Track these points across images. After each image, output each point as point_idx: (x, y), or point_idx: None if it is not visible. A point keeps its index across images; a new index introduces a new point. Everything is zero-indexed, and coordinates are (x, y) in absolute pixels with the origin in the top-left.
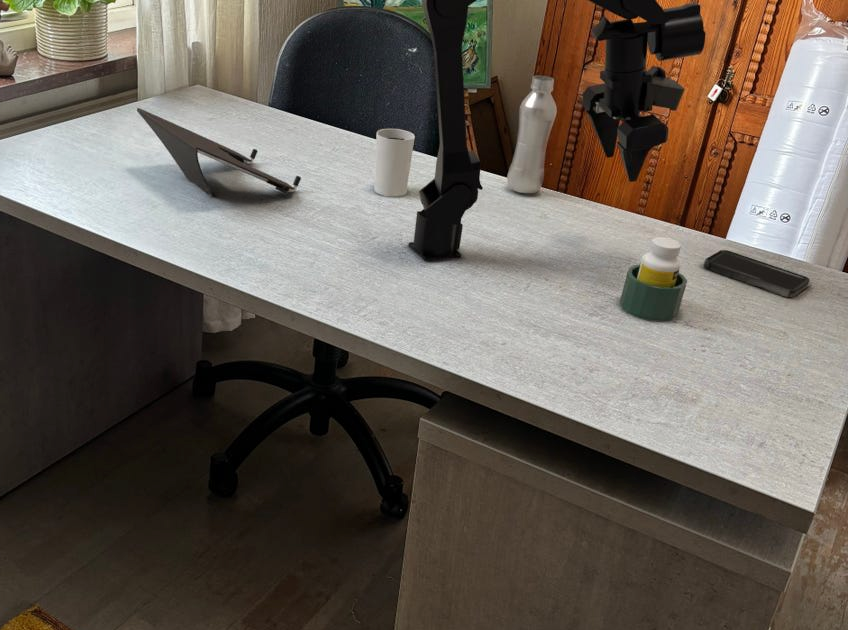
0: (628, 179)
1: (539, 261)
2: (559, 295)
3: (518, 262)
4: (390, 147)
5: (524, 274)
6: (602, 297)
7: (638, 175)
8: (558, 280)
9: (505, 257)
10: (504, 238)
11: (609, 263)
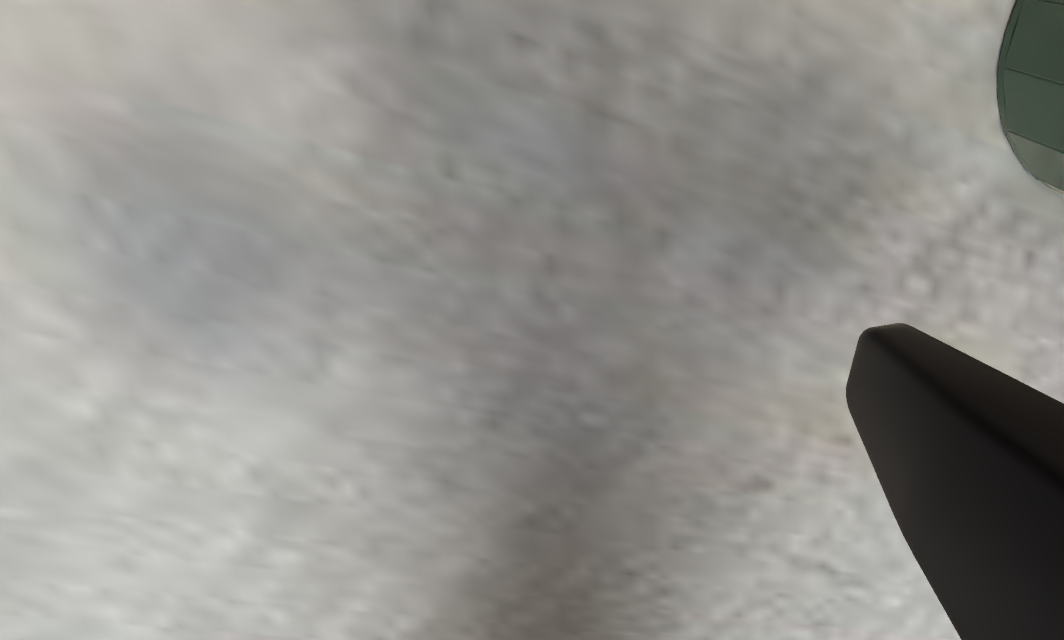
0: (866, 430)
1: (536, 480)
2: None
3: (556, 572)
4: None
5: (695, 565)
6: (981, 265)
7: (980, 365)
8: (768, 433)
9: (500, 617)
10: (240, 597)
11: (534, 84)
